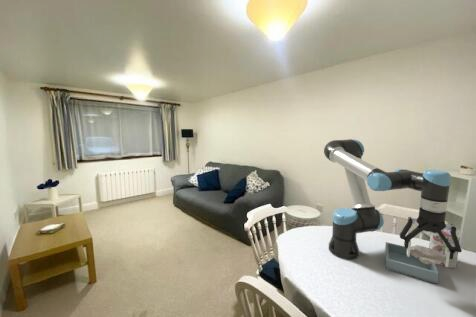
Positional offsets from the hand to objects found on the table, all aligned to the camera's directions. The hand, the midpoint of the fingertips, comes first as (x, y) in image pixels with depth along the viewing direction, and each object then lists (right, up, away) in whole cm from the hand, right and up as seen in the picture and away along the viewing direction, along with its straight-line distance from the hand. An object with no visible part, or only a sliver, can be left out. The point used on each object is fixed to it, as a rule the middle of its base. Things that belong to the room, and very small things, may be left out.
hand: (426, 259), depth 81 cm
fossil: (+1, -1, 0) cm, 1 cm away
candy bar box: (+26, -10, +19) cm, 33 cm away
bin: (+7, -11, +16) cm, 21 cm away
